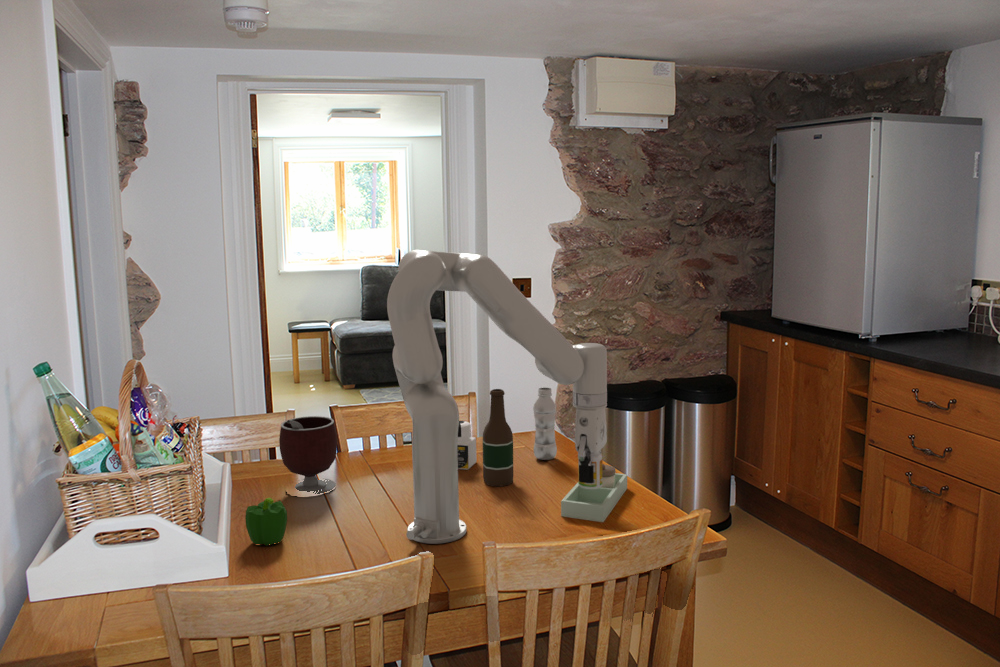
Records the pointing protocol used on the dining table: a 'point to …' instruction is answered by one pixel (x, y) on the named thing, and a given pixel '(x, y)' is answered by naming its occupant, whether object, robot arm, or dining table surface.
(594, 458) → the supplement bottle
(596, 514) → the caddy
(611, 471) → the jar
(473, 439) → the medicine bottle
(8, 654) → the dining table surface
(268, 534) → the bell pepper
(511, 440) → the beer bottle
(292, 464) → the mate gourd
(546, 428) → the plastic bottle
